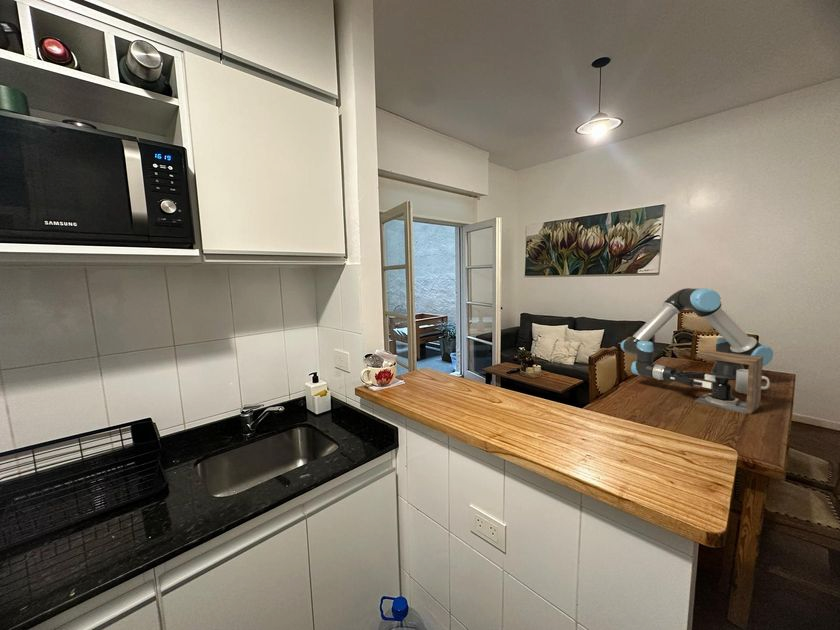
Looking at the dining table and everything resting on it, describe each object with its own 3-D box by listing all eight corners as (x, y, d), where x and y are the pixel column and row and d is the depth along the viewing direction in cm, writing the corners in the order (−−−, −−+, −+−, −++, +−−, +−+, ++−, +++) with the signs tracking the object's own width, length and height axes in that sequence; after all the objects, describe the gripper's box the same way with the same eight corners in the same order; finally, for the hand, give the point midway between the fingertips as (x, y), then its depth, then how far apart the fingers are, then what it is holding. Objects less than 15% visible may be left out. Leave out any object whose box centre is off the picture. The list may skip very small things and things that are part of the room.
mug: (735, 392, 167) (736, 371, 165) (735, 388, 173) (736, 368, 171) (769, 397, 158) (770, 375, 157) (768, 393, 164) (769, 371, 163)
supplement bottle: (723, 398, 157) (724, 374, 156) (735, 404, 150) (736, 379, 149) (707, 398, 158) (708, 374, 157) (719, 404, 151) (720, 379, 150)
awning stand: (705, 395, 165) (707, 350, 162) (760, 407, 148) (762, 356, 146) (695, 401, 158) (696, 354, 155) (750, 414, 141) (753, 361, 139)
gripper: (674, 375, 180) (725, 384, 162) (653, 384, 167) (706, 396, 149) (675, 362, 179) (726, 370, 161) (654, 370, 166) (707, 380, 148)
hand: (716, 382), depth 155 cm, fingers open, 13 cm apart
